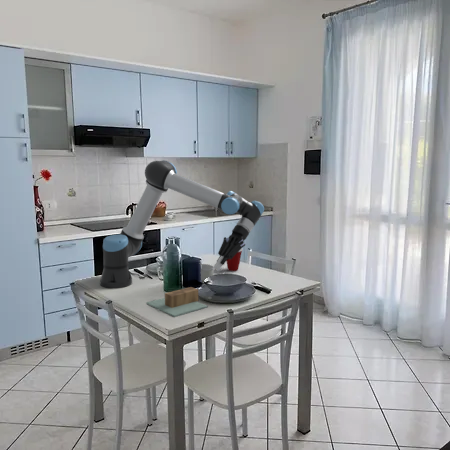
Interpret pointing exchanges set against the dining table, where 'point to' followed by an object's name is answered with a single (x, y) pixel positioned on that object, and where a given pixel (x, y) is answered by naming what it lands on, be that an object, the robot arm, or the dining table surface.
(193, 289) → the walnut block
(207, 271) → the teacup
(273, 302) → the dining table surface
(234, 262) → the plastic cup
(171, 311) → the rubber mat
